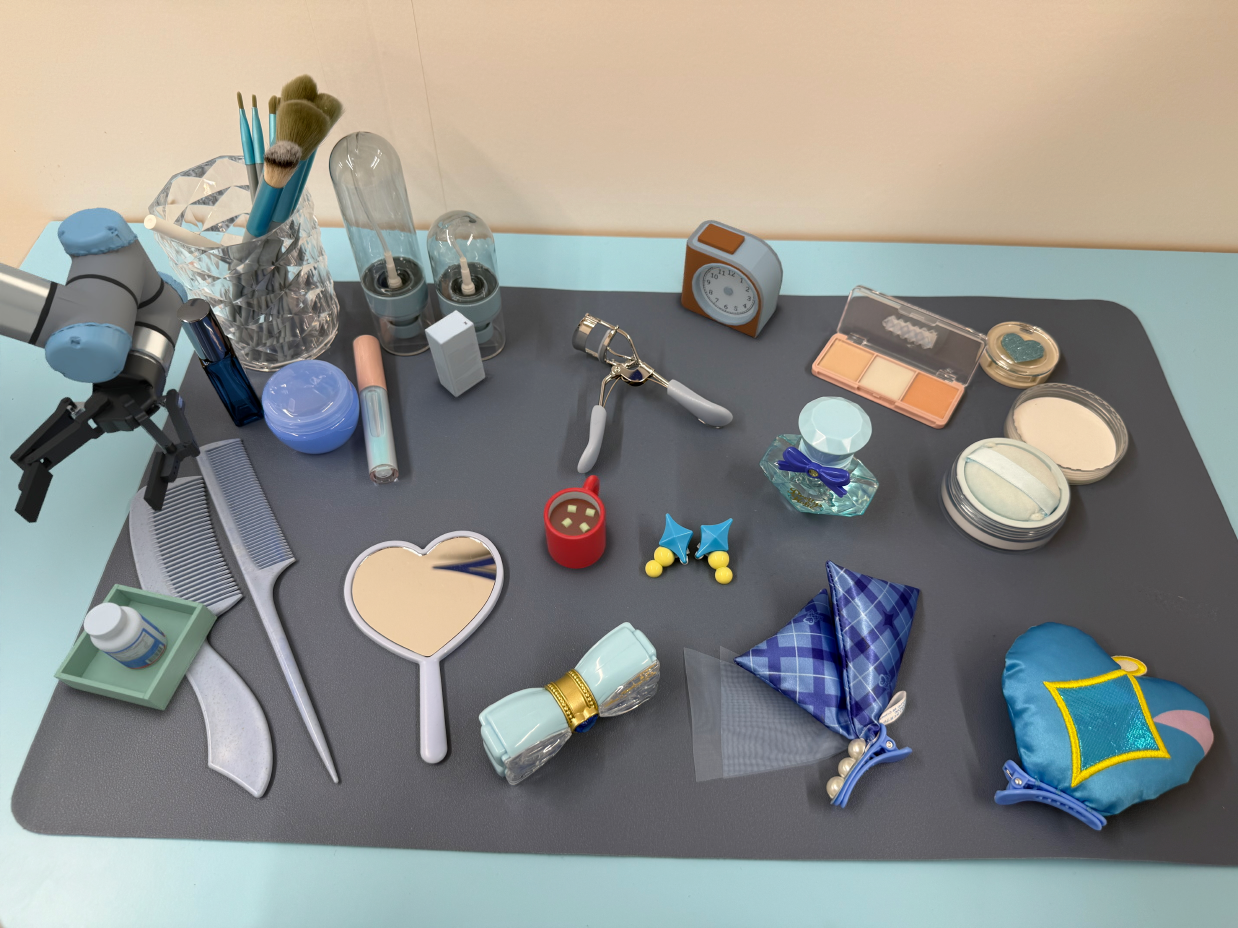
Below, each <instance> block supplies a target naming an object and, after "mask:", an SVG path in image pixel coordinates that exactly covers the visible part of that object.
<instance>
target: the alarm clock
mask: <svg viewBox="0 0 1238 928" xmlns="http://www.w3.org/2000/svg"><path fill="white" fill-rule="evenodd" d="M684 255H685V257H684V267H683V275H682V277H683V278H682V287H681V299H680V303H681V306H682V307H683V308H685V309H686V310H688V311H691V312H693V313H696V314H697V315H700V316H703V317H705V318H708V319H710V320H712V321H715V322H717V323H719V324H722V325H724V326H727V327H729V328H732V329H734V330H736V331H737V332H740V333H742V334H745V335H747V336H750V337H752V338H754V339H755V338H757V336H758V335H759V334H760V332H761V331H762V330H763V328H764V327H765V325H766V324H767V322H768V321H769V320H770V318H771V317H772V316H773V314H774V313H775V311H776V310H777V306H778V301H779V298H780V297H779V296H780V293H781V289H782V285H783V277H784V269H783V265H782V262H781V260H780V257H779V255H778V253H777V252H776V251H775V249H774V248H773V247H772V246H771V245H770V244H769V243H768V242H766V241H765V240H764V239H762V238H761V237H759V236H757V235H754V234H753V233H751V232H747V231H745V230H742V229H740V228H736V227H734V226H732V225H729V224H726V223H724V222H722V221H718V220H715V219H708V220H704V221H702V222H701V223H700V224H699V225H698V226H697V228H696V229H694V231H693V232H692V233H691V234H690V235H689V237H687V240H686V245H685V254H684Z"/></svg>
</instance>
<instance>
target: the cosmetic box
mask: <svg viewBox="0 0 1238 928" xmlns="http://www.w3.org/2000/svg"><path fill="white" fill-rule="evenodd" d="M475 328H476V327H475V324H474V322H472V321H471V320H470V319H468V318H467V317H466V316H465V315H463V314H462V313H461V312H459V311H458V310H457V309H455V310H453V311H452V312H450V313H449V314H448V315H446V316H444V317H443V318H442V319H440V320H438V321H436V322H435V323H433V324H432V325H430V326H428V327H427V328H426V329H424V332H425V333H424V334H425V337H426V340H427V342H428V347H429V350H430V351H431V356H432V359H433V363H434V366H435V369H436V372H437V373H436V374H437V376H438V379H439V382H440V385H442V386H443V387H444V388H445V389H446V390H447V391H448V392H449V393H451V395H453V396H454V397H455V398H458V397H459V396H461V395H462V394H464V393H465V392H467V391H468V390H469V389H471V388H472V387H474V386H475V385H477V384H478V383H480V382H481V381H483V380H484V379H485V378H486V373H485V368H484V364H483V359H482V355H481V350H480V346H479V343H478V338H477V333H476V329H475Z"/></svg>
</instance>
